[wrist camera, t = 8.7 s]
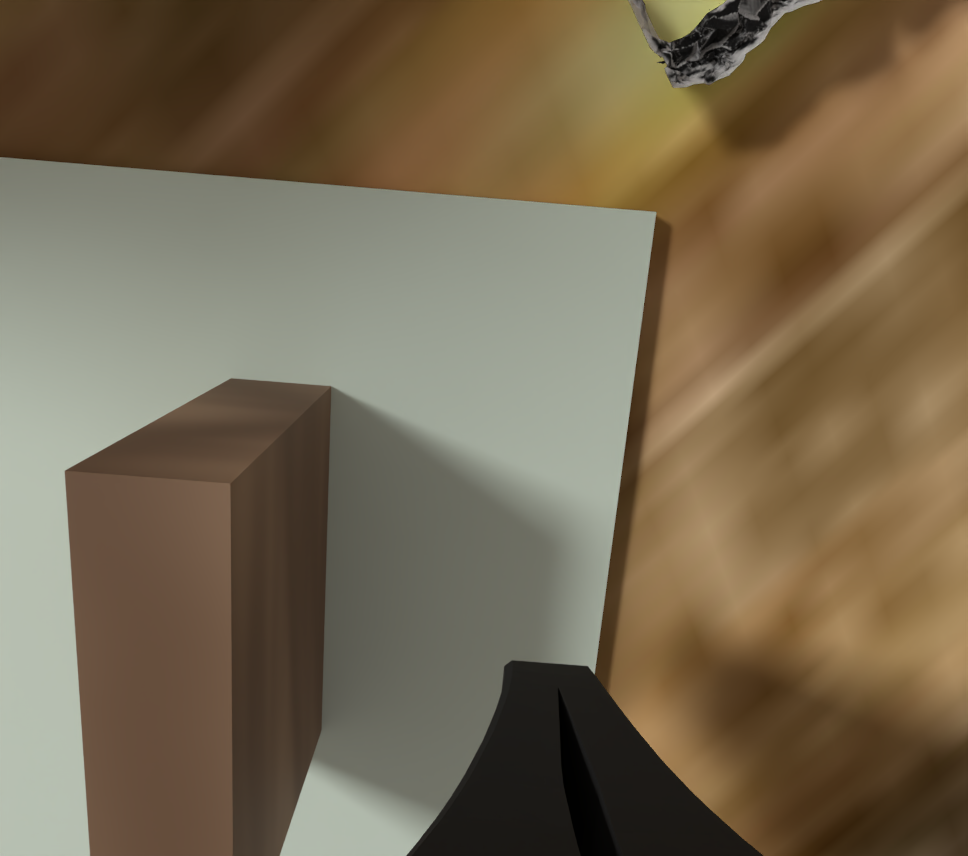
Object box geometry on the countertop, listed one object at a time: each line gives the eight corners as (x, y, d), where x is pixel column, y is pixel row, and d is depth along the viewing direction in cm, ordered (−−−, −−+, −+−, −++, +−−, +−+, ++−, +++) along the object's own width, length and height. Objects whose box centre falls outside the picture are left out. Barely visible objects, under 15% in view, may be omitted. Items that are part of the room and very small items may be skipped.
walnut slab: (331, 386, 15) (230, 483, 9) (321, 730, 17) (233, 992, 11) (231, 377, 15) (64, 470, 9) (233, 724, 17) (98, 984, 11)
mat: (554, 942, 19) (556, 960, 18) (-156, 894, 19) (-173, 911, 18) (650, 212, 14) (656, 211, 14) (-286, 134, 14) (-314, 131, 14)
